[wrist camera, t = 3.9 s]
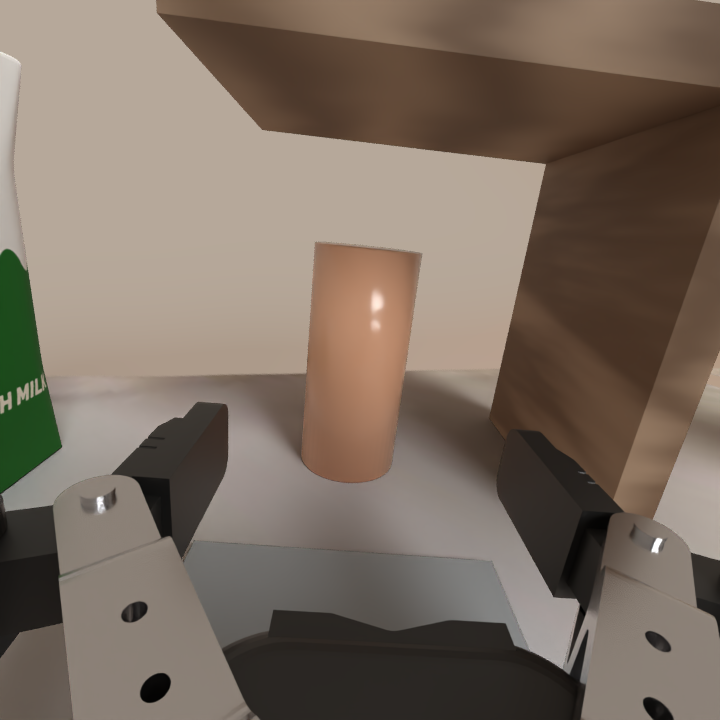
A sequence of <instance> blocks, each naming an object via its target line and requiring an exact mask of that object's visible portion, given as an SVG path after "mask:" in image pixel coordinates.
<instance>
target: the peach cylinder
mask: <svg viewBox="0 0 720 720" xmlns="http://www.w3.org/2000/svg"><path fill="white" fill-rule="evenodd" d="M421 258H422V253H418V252H413V251H405V250H399V249H391V248H383V247H374V246H364V245H355V244H344V243H331V242H315V252H314V266H313V282H312V299H311V313H310V328H309V343H308V359H307V374H306V389H305V405H304V420H303V436H302V451H301V457H302V460H303V462H304V464H305V465H306V466H307V468H308V469H310V470H311V471H312V472H314V473H315V474H317V475H319V476H321V477H324V478H326V479H330V480H333V481H338V482H346V483H359V482H366V481H371V480H374V479H377V478H379V477H381V476H383V475H384V474H385V473H387V472H388V470H389V469H390V467H391V465H392V458H393V452H394V445H395V438H396V431H397V424H398V417H399V410H400V403H401V396H402V389H403V382H404V375H405V369H406V362H407V355H408V348H409V341H410V333H411V327H412V320H413V313H414V306H415V299H416V292H417V286H418V279H419V272H420V265H421Z"/></svg>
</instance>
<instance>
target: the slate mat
mask: <svg viewBox="0 0 720 720" xmlns="http://www.w3.org/2000/svg"><path fill="white" fill-rule="evenodd" d="M183 564H184V566H185V568H186V571H187V573H188V575H189V577H190V580H191V582H192V584H193V586H194V589H195V591H196V593H197V595H198V598H199V600H200V602H201V604H202V607H203V609H204V611H205V613H206V616H207V618H208V620H209V622H210V625H211V627H212V629H213V631H214V634H215V636H216V638H217V641H218V643H219V645H220V647H221V649H222V648H223V647H225V646H227V645H229V644H231V643H233V642H235V641H237V640H240V639H242V638H244V637H247V636H250V635H254V634H257V633H260V632H265V631H269V628H270V623H271V618H272V613H273V610H289V611H306V612H323V613H333V614H337V615H340V616H343V617H346V618H350V619H353V620H356V621H359V622H363V623H366V624H369V625H372V626H376V627H379V628H382V629H385V630H390V631H399V630H404V629H408V628H413V627H418V626H423V625H428V624H432V623H437V622H442V621H447V620H461V621H478V622H495V623H506V625H507V628H508V630H509V633H510V635H511V638H512V640H513V643H514V646H518V647H521V648H523V649H526V650H528V651H529V648H528V646H527V644H526V641H525V639H524V637H523V634H522V632H521V629H520V627H519V625H518V622H517V620H516V618H515V615H514V613H513V610H512V608H511V606H510V603H509V601H508V599H507V596H506V594H505V591H504V589H503V587H502V584H501V582H500V580H499V577H498V575H497V572H496V570H495V568H494V565H493V563H492V561H485V560H471V559H456V558H441V557H427V556H412V555H398V554H383V553H368V552H354V551H339V550H325V549H310V548H295V547H281V546H266V545H252V544H237V543H222V542H208V541H194V542H193V544H192V546H191V548H190V550H189V552H188V554H187V556H186V558H185V560H184V562H183Z"/></svg>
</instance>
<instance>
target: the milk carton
mask: <svg viewBox="0 0 720 720" xmlns="http://www.w3.org/2000/svg"><path fill="white" fill-rule="evenodd" d="M20 78H21V64H20V62H19V61H18V60H17V59H15V58H13V57H11V56H9V55H7V54H4V53H2V52H0V493H2V492H3V491H4V490H6V489H7V488H8V487H10V486H11V485H12V484H13V483H15V482H16V481H17V480H19V479H20V478H21V477H23V476H24V475H25V474H27V473H28V472H29V471H31V470H32V469H33V468H35V467H36V466H37V465H39V464H40V463H41V462H43V461H44V460H45V459H47V458H48V457H49V456H50V455H52V454H53V453H54V452H56V451H57V450H58V449H60V448H61V447H62V445H61V440H60V436H59V432H58V428H57V424H56V420H55V415H54V411H53V407H52V403H51V399H50V394H49V390H48V386H47V382H46V378H45V374H44V370H43V365H42V360H41V354H40V347H39V341H38V334H37V327H36V321H35V314H34V307H33V300H32V294H31V287H30V280H29V273H28V267H27V261H26V254H25V246H24V240H23V233H22V226H21V220H20V213H19V206H18V199H17V193H16V185H15V177H14V149H15V136H16V123H17V113H18V101H19V89H20Z"/></svg>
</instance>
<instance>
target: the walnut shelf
mask: <svg viewBox="0 0 720 720" xmlns="http://www.w3.org/2000/svg"><path fill="white" fill-rule="evenodd" d="M156 3H157V13H158V14H159V16H160V17H161V18H162V19H163V20H164V21H165V22H166V23H167V25H168V26H169V27H170V28H171V29H172V30H173V31H174V32H175V33H176V35H177V36H178V37H179V38H180V39H181V40H182V41H183V42H184V43H185V45H186V46H187V47H188V48H189V49H190V50H191V51H192V52H193V53H194V55H195V56H196V57H197V58H198V59H199V60H200V61H201V62H202V63H203V65H204V66H205V67H206V68H207V69H208V70H209V71H210V72H211V73H212V74H213V76H214V77H215V78H216V79H217V80H218V81H219V82H220V83H221V84H222V86H223V87H224V88H225V89H226V90H227V91H228V92H229V93H230V95H231V96H232V97H233V98H234V99H235V100H236V101H237V102H238V103H239V105H240V106H241V107H242V108H243V109H244V110H245V111H246V112H247V113H248V115H249V116H250V117H251V118H252V119H253V120H254V121H255V122H256V123H257V125H258V126H259V127H260V128H261V129H262V130H267V131H276V132H285V133H293V134H301V135H309V136H317V137H326V138H335V139H343V140H351V141H359V142H367V143H376V144H384V145H392V146H402V147H409V148H417V149H426V150H434V151H442V152H451V153H459V154H467V155H476V156H484V157H493V158H502V159H509V160H517V161H526V162H534V163H542V164H546V167H545V171H544V176H543V180H542V185H541V189H540V194H539V198H538V202H537V207H536V211H535V216H534V220H533V225H532V230H531V234H530V238H529V243H528V247H527V252H526V256H525V261H524V265H523V269H522V274H521V279H520V283H519V287H518V292H517V297H516V301H515V305H514V310H513V314H512V319H511V323H510V328H509V332H508V336H507V341H506V346H505V350H504V354H503V359H502V363H501V368H500V372H499V377H498V381H497V386H496V390H495V395H494V399H493V403H492V408H491V412H490V417H489V419H490V420H491V421H492V423H493V424H494V426H495V427H496V428H497V430H498V431H499V432H500V434H501V435H502V437H503V438H504V439H505V441H506V438H507V435H508V433H509V431H510V430H511V429H521V430H533V431H540V432H541V433H542V434H543V435H544V436H545V437H546V438H547V439H548V440H549V441H550V442H551V443H552V445H553V446H554V447H555V448H556V449H558V450H559V451H561V452H563V453H564V454H566V455H567V456H569V457H570V458H572V459H574V460H575V461H576V462H577V463H578V464H579V465H580V466H581V467H582V468H583V469H584V470H585V471H586V474H589V476H590V477H591V478H592V479H593V480H594V481H595V483H596V484H598V485H599V486H600V487H601V488H602V489H603V490H604V491H605V492H606V493H607V494H608V495H609V496H610V497H611V498H612V499H613V500H614V501H615V502H616V503H617V504H618V506H619V507H620V508H621V509H622V510H623V511H624V512H626V513H633V514H637V515H641V516H644V517H647V518H650V519H652V520H653V517H654V515H655V512H656V510H657V507H658V504H659V502H660V499H661V497H662V494H663V492H664V489H665V487H666V484H667V482H668V479H669V477H670V474H671V472H672V469H673V467H674V464H675V462H676V459H677V457H678V454H679V452H680V449H681V446H682V444H683V441H684V439H685V436H686V434H687V431H688V429H689V426H690V424H691V421H692V419H693V416H694V414H695V411H696V409H697V406H698V404H699V401H700V399H701V396H702V394H703V391H704V389H705V386H706V383H707V381H708V378H709V376H710V373H711V371H712V368H713V366H714V363H715V361H716V358H717V356H718V353H719V351H720V4H718V3H711V2H704V1H697V0H156Z"/></svg>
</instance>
